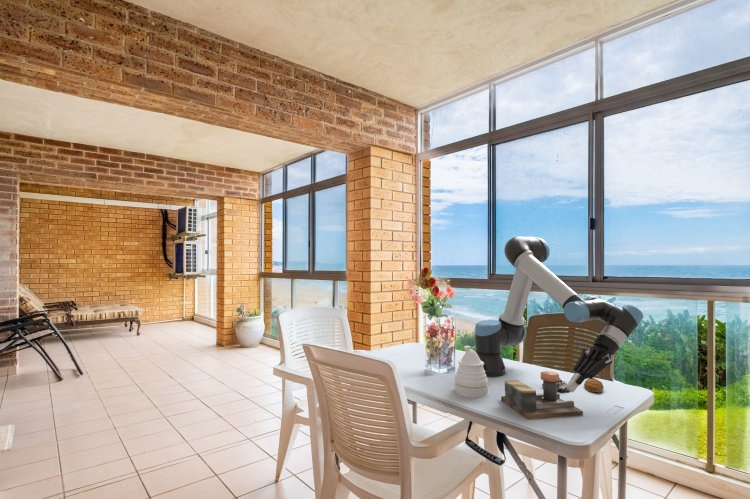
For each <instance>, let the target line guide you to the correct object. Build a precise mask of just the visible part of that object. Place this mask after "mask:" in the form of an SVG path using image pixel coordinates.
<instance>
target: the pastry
mask: <svg viewBox="0 0 750 499" xmlns="http://www.w3.org/2000/svg"><path fill="white" fill-rule="evenodd" d="M583 386H584V389H585V390H587V391H588V392H591V393H601V392H603V391H604V385H603V382H602V381H601V380H599V379H597V378H595V377H593V378H592V379H589V378H587V379H585V380H584V383H583Z"/></svg>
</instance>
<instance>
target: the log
mask: <svg viewBox="0 0 750 499" xmlns="http://www.w3.org/2000/svg"><path fill="white" fill-rule="evenodd" d="M567 384H568V382H565V381H564V380H563V379H561V377H560V376H559V381H558V382H557V393H559V394H568V393H569V394H570V393H571V392H570V391H569V390H568V389H567V388H566V387H565V386H566V385H567ZM541 386H542V387H543V383H542V384H541Z"/></svg>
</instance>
